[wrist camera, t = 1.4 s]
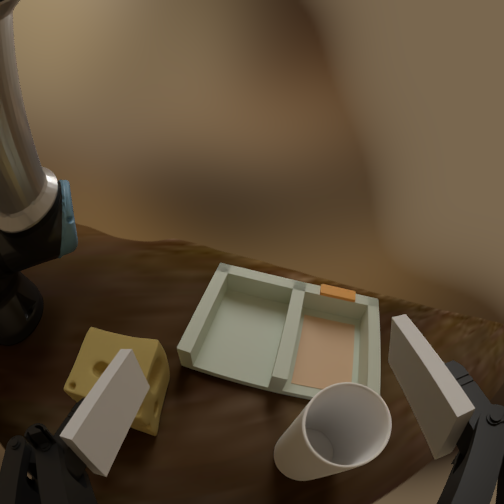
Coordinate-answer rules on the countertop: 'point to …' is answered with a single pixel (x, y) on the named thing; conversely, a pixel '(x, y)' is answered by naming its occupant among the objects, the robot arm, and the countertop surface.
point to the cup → (334, 433)
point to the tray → (283, 334)
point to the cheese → (100, 356)
